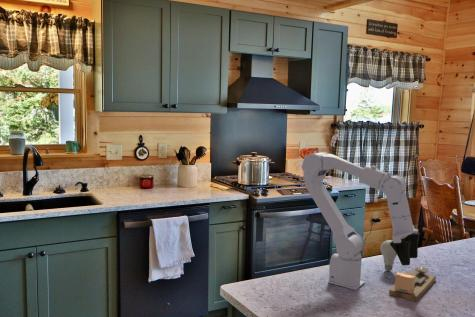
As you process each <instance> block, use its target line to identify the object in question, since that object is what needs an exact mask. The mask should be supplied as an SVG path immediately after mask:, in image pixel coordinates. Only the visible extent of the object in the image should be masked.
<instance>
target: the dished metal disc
mask: <svg viewBox="0 0 475 317" xmlns="http://www.w3.org/2000/svg"><path fill="white" fill-rule="evenodd" d="M414 271H417V272H418V275H420V276H424V275H425V273H426V274H428V272H429V268H428V267H425V266H422V265H421V266H420V265H416V266H415V268H414Z"/></svg>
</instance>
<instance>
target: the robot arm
mask: <svg viewBox="0 0 475 317" xmlns="http://www.w3.org/2000/svg"><path fill="white" fill-rule="evenodd" d="M377 167H378V166H376V165H374V164H373V165H371V166H370V165H366V166H364V167H362V166H360V165H357V164H356V163H353V162H351V161H349V160H347V159H344V158H342V157H340V156H338V155H335V154H333V153H328V152H326V151H319V152H316V153H308V154H307V155H305V157H304V158H303V161H302V164H301V169H302V171H303V179H304V186H305V188H306V189H307V191H308V193H309V195H310V196H311V197H312V200H313V201H314V203H315V204H316V206H317V209H319V211H320V212H321V215H322V217H323V218H324V220H325V221H326V223H327V225H328V226H329V228H330V230H331V232H332V233H333V234H332V240H333V242H334V244H335V250H336V253H333V254H332V255H331V257H330V260H329V266H328V267H329V270H328V280H327V283H328V284H332V285H336V286H340V287H344V288H347V289H350V290H354V291H355V290H358V289H359V288H360V287H361V286H362V285H364V284H365V282H366V281H365V280H361V278H362V277H361V275H362V274H361V273H362V258H363V257H362V254H361V251H363V250H364V247H365V239H364V238H363V237H362V235H360V234H359V233H357V232H356V230H355V228H354V227H352V226H351V225H349V224H348V223H347V221H346V219H345V218H344V216H343V214H342V212H341V211H340V210H339V208H338V205H337V204H336V203H335V201H334V199H333V198H332V196H331V194H330V193H329V191H328V190H327V188H326V186H325V185H324V183H323V182H324V180H325V175H326V173H327V172H328V170H337V171H340V172H343V173H345V174H348V175H350V176H354V177H357V178H358V180H359V181H360V183H361V184H363V185H366V186H369V187H370V188H372V189H375V190H377V191H381V192H382V193H383V195H385V196H386V201H387V207H388V212H389V217H390V221H391V222H390V223H391V226H392V230H393V232H392V241H391V242H390V246H391V247H392V248H393V249H394V250H395V252H396V254H397V258H398V260H399V261H400V264H401V266H410V265H411V259H418V253H419V252H418V251H419V250H418V248H419V247H418V246H419V240H420V236H421V232H419V228H416V227H415V225H414V224H413V220H412V216H411V215H412V214H411V210H410V205H409V201H408V197H407V193H406V191H405V190H406V189H407V182H406V180H405V179H404V177H402V176H401V175H399V174H393V175H392V172H390V171H388V172H386V171H382V170H381V169H378V168H377Z"/></svg>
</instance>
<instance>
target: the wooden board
mask: <svg viewBox="0 0 475 317" xmlns="http://www.w3.org/2000/svg"><path fill="white" fill-rule="evenodd" d="M406 274H408V275H409V274H413V276H415V281H419V280H420V279H421V278H422V277H425V278H426V280H425V281H424V282H423V283H422V284H421V285H419V284H416V285H415V286H414V292H413V293H412V294H409V293H404V292H400V291H397V290H395V284H394V285H393V286H392V287H390V289H389V291H388V295H390V296H393V297H397V298H402V299H405V300H408V301H413V302H415V303H417V301H418V300H419V299H420V298H422V296H423V295H424V294H425V292H427V290H428V289H429V288H430V287H431V286H432V284H434V282H435V281H436V280H437V278H436V277H437V276H436V275H434V274H430V273H425V275H424V276H420V275H418V272H417V271H416V270H411V269H410V270H409V271H408V272H407V273H406Z"/></svg>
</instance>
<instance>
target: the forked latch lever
mask: <svg viewBox="0 0 475 317" xmlns="http://www.w3.org/2000/svg"><path fill="white" fill-rule="evenodd" d="M394 279H395V281H394V285H395V290H397V291H400V292H404V293H409V294H412V293H413V292H414V286H415V285H416V284H419V285H421V284H422V283H423V282H424V281H425V280H426V278H425V277H422V278H421V279H420V280H419V281H415V276H413V274H409V275H408V274H407V273H403V272H399V271H398V272H396V273H395V278H394Z"/></svg>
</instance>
